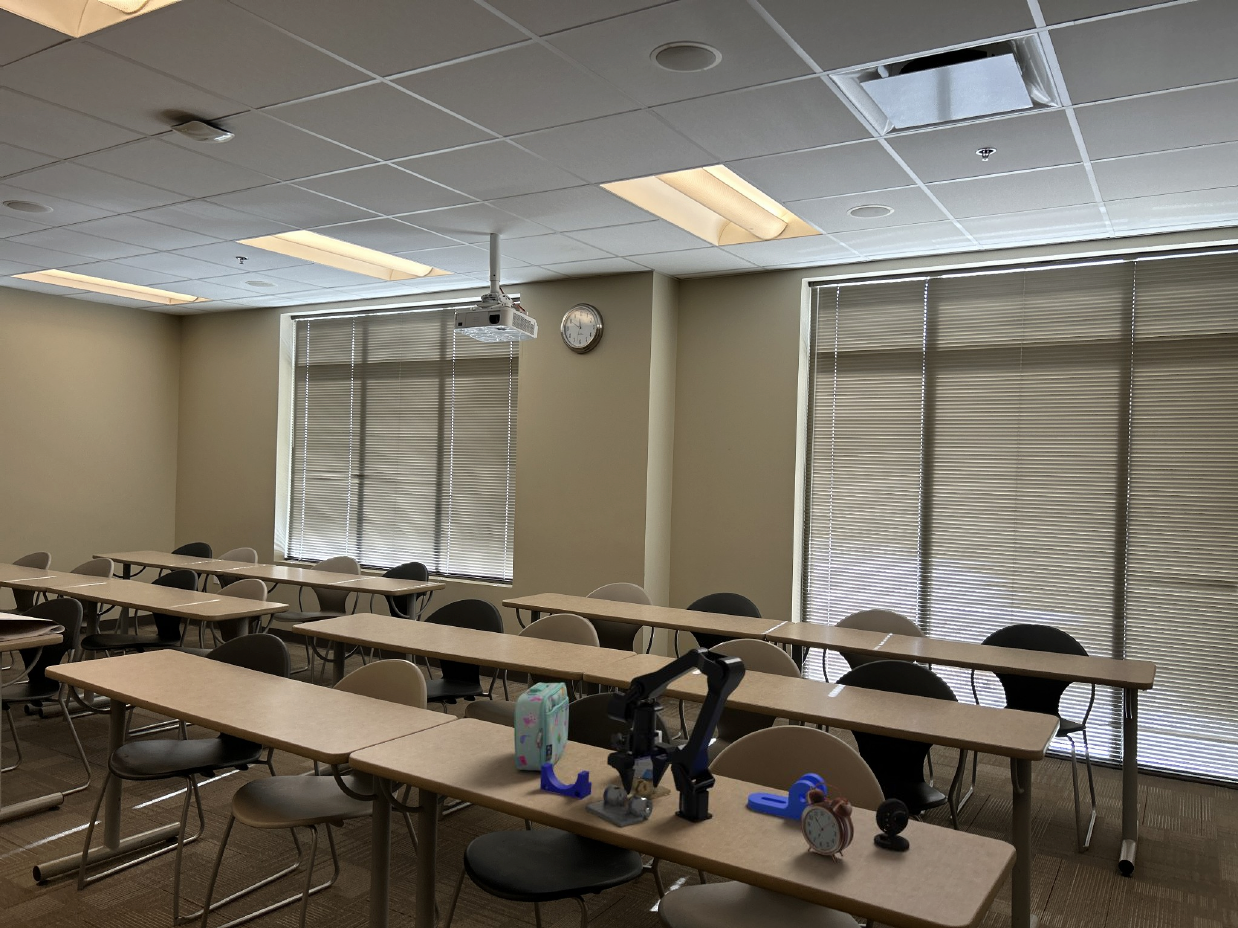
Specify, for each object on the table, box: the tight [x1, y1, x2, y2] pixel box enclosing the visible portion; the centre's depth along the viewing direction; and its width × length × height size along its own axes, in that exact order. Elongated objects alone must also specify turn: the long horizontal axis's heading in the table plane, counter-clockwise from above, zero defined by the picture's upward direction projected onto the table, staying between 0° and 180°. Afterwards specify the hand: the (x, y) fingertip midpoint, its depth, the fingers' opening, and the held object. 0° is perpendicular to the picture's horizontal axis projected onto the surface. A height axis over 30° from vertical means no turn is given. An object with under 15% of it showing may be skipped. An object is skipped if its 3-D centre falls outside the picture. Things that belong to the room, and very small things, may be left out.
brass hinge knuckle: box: [629, 777, 672, 800], centre depth 216 cm, size 4×10×4 cm, turn 131°
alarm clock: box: [800, 782, 855, 863], centre depth 184 cm, size 11×5×15 cm, turn 45°
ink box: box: [626, 730, 663, 780], centre depth 231 cm, size 9×5×12 cm, turn 76°
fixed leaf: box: [584, 784, 654, 828], centre depth 203 cm, size 14×10×4 cm
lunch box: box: [513, 682, 569, 772], centre depth 239 cm, size 27×10×21 cm, turn 171°
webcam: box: [873, 798, 911, 852], centre depth 192 cm, size 8×8×10 cm
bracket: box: [747, 772, 828, 822], centre depth 210 cm, size 18×8×9 cm, turn 62°
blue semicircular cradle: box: [539, 763, 593, 800], centre depth 216 cm, size 12×4×6 cm, turn 63°
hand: (641, 790), depth 214 cm, fingers open, 9 cm apart
